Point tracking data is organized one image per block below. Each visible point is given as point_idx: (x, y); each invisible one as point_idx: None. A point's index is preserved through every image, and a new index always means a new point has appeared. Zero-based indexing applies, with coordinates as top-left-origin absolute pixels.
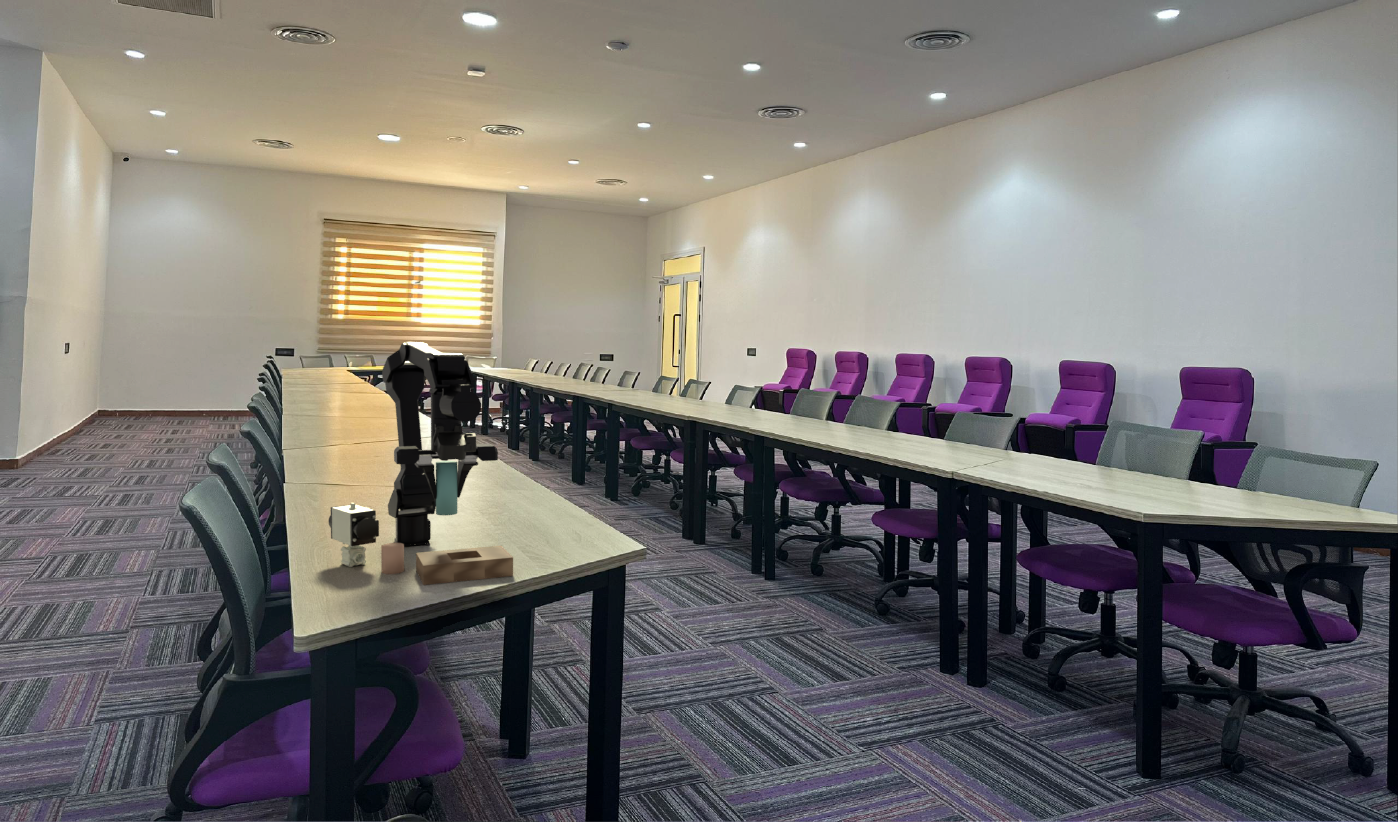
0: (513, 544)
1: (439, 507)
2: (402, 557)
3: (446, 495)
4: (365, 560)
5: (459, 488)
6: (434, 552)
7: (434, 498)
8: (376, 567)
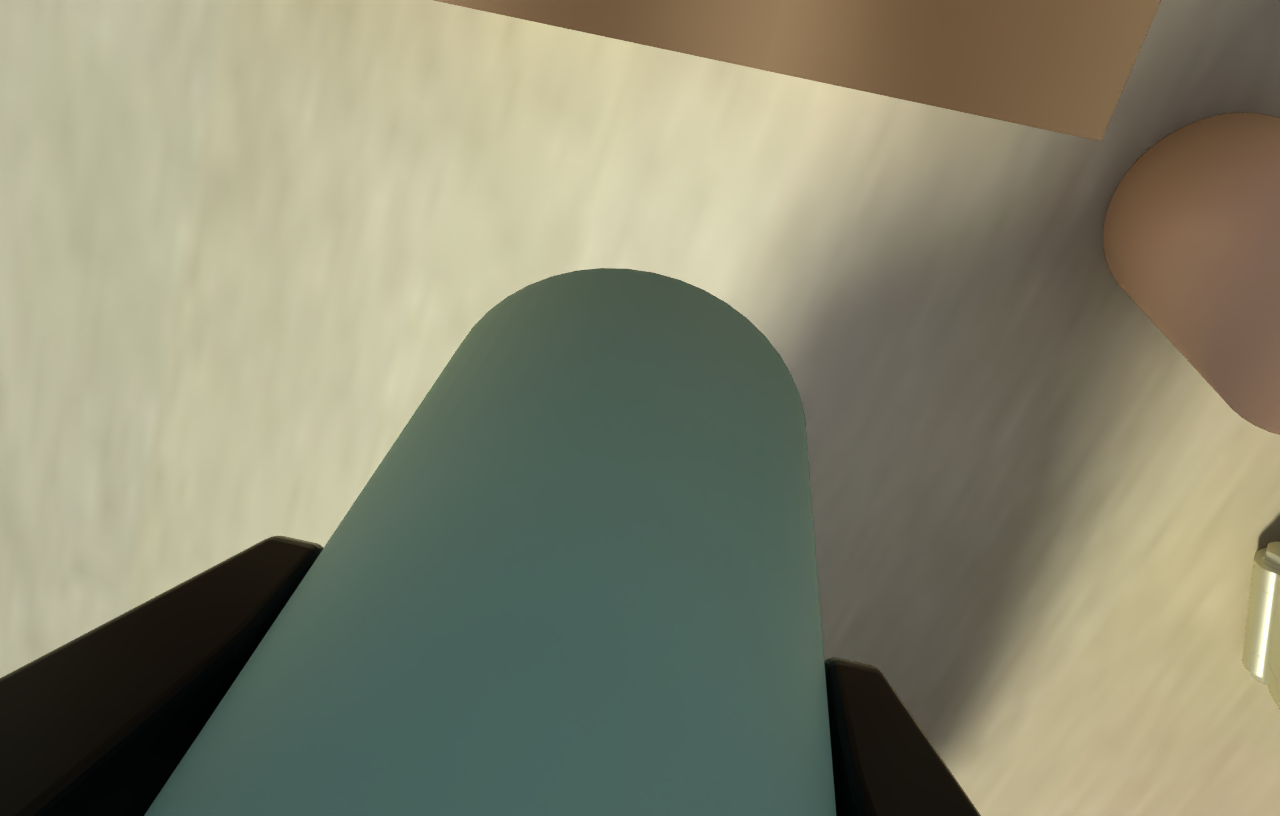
0: (21, 483)
1: (795, 443)
2: (1224, 180)
3: (642, 513)
4: (1267, 569)
5: (152, 673)
6: (917, 27)
7: (874, 669)
8: (1240, 422)
